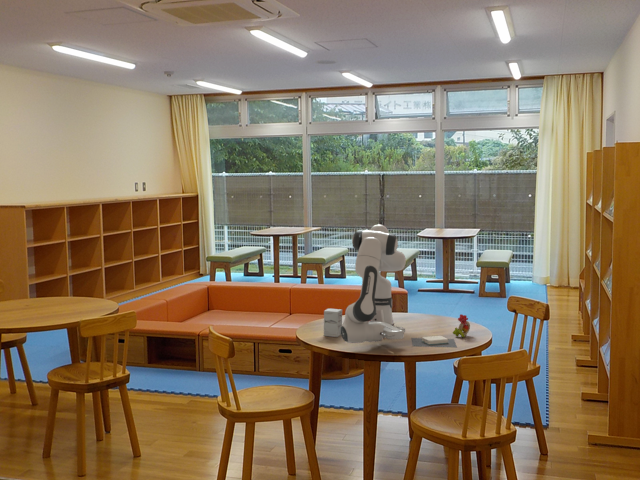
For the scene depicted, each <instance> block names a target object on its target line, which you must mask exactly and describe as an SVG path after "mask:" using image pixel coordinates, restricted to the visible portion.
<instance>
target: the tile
mask: <svg viewBox="0 0 640 480" xmlns="http://www.w3.org/2000/svg"><path fill="white" fill-rule="evenodd" d="M421 338H422V342H424V343H426V344H428V345H434V344H446V343H448V339H449V338H446V337H445V336H442V335H434V336H433V335H432V336H422V337H421Z"/></svg>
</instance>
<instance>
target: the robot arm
mask: <svg viewBox="0 0 640 480" xmlns="http://www.w3.org/2000/svg"><path fill="white" fill-rule="evenodd" d="M351 242H352V243H351V244H352V248H353V249H354V250H355V251H357V255H356V259H355V266H354V267H355V270H354V271H355V273H356V274H357V275H358V276H359V277H360V278H361V280H362V281H361V282H362V283H361V287H360V288H361V289H360V295H359V297H358V299H357V300H356V301H355V302H353V303H350V304H349V305H348V306H347V307H346V308H345V311H344V312H345V313H344V320H343V322H342V326H341V335H340V336H341V338H342V339H343V341H344V342H347V343H350V344H359V343H360V344H361V343H364V342H368V343H374V342H375V343H376V342H381V341H383V339H384V338H385V339H387V340H402V339H404V334H405V333H406V328H405V327H402V326H393V325H394V324H395V322H394V319H393V312H392V311H393V310H392V308H393V297H392V282H391V281H390V280H389V279H388V278H386V277H385V276H382V275H381V272H398V271H402V270H404V268H405V266H406V263H407V258H406V256H405V254H404V253H403V252H402V251H399V250H397V249H398V246H399V242H398V237H397V236H396V235H395V234H393V233H392V232H391V233H390V232H389V230H388V228H387V227H386V226H385V225H383V224H374V225H373V226H372V227H371V228H370V229H369V230H366V229H357V230H355V232H354V234H353V235H352V239H351ZM370 320H371V321H370ZM368 321H369V322H368Z"/></svg>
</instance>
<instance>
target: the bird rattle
mask: <svg viewBox="0 0 640 480" xmlns="http://www.w3.org/2000/svg"><path fill="white" fill-rule="evenodd" d="M457 320H458V322H459V323H460V324H459V326H458V327H455V328H454V330H453V332H452V334H453V335H455V337H456V336H457V337H459V336H460V337H462V338H465V337H466V336H467V335H468V334H469V331H470V329H471V325H470V324H471V323H470V322H469V321H468V320H469V318H468V316H467V315H463V314H459V317H458V318H457Z"/></svg>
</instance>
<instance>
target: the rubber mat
mask: <svg viewBox="0 0 640 480" xmlns="http://www.w3.org/2000/svg"><path fill="white" fill-rule="evenodd" d="M447 339H448V343H446V344H434V345H428V344H426V343H424V342H422V337H411V344H412V347H419V348H420V347H425V348H458V346H457V344H456V341H455V339H454V338H447Z"/></svg>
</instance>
